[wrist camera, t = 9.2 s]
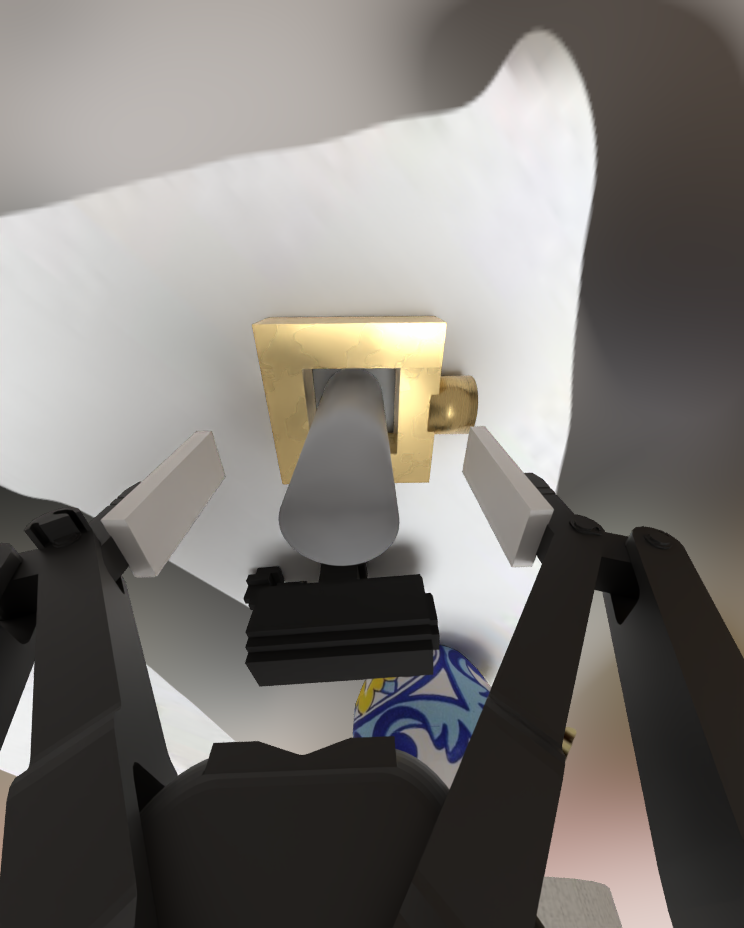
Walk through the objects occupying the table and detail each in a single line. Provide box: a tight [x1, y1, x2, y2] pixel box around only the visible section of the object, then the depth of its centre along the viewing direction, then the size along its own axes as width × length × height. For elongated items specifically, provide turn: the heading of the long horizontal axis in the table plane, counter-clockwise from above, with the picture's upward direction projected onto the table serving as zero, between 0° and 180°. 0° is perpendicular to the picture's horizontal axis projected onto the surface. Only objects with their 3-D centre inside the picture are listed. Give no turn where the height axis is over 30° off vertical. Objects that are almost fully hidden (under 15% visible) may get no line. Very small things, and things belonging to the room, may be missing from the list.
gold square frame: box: [252, 316, 478, 484], centre depth 22 cm, size 14×11×4 cm
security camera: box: [244, 562, 439, 686], centre depth 29 cm, size 7×18×10 cm, turn 96°
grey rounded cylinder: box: [279, 368, 399, 566], centre depth 17 cm, size 4×4×14 cm
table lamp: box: [353, 645, 622, 928], centre depth 28 cm, size 27×27×40 cm
